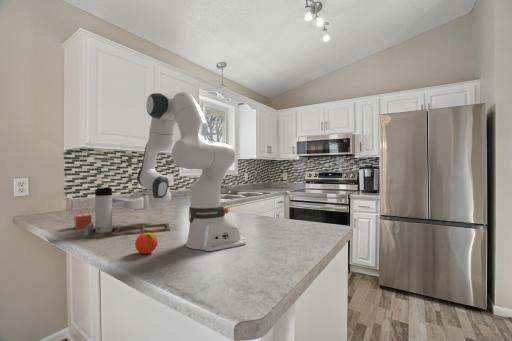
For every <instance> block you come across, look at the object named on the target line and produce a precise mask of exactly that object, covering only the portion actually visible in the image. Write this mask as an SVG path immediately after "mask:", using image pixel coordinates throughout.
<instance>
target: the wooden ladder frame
mask: <svg viewBox="0 0 512 341" xmlns="http://www.w3.org/2000/svg"><path fill="white" fill-rule="evenodd" d="M94 223H95V221H94V222H91V223H90V224H88V225H87V226H86V227H85V228H84V229H83V239H93V238H103V237H104V238H105V237H106V238H107V237H117V236H125V235H136V234H137V235H138V234H139V235H140V234H142V233H146V232H150V233H159V232H160V233H161V232H170V231H171V227H170V224H169V222H168V223H154V224H143V225H129V226H127V225H126V226H115V227H112V231H114V232H112V233H105V234H93V233H95V231H96V230H95V224H94ZM156 227H157V228H156ZM158 227H163V228H158ZM164 227H166V228H164ZM146 228H152V229H146ZM153 228H154V229H153ZM134 229H141V230H134ZM121 230H129V231H121ZM120 231H121V232H120Z"/></svg>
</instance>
